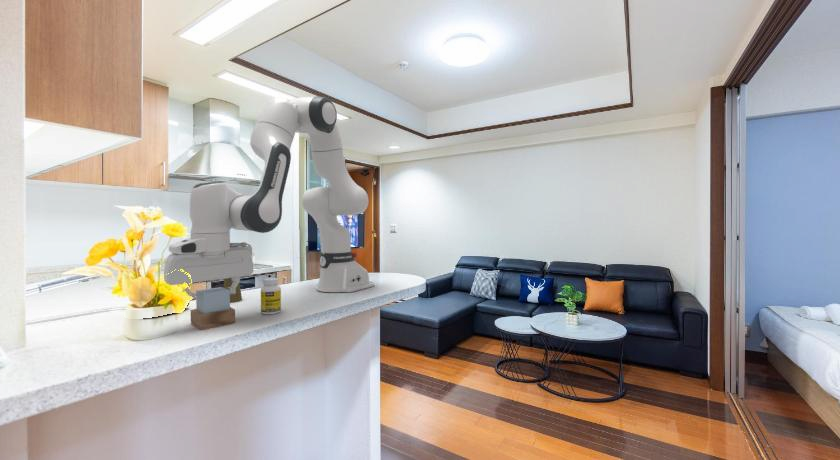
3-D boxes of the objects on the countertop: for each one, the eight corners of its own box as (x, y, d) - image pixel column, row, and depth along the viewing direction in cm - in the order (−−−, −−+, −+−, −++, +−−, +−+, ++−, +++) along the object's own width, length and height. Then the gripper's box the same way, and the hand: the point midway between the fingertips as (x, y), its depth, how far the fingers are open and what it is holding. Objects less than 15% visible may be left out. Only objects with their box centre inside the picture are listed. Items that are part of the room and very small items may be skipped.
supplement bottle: (264, 316, 100) (263, 281, 100) (258, 312, 104) (257, 278, 104) (283, 312, 104) (283, 279, 103) (277, 309, 108) (277, 276, 108)
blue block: (221, 305, 98) (220, 287, 98) (230, 308, 94) (229, 289, 94) (196, 309, 94) (195, 290, 93) (204, 313, 90) (204, 293, 89)
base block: (224, 318, 99) (223, 304, 99) (235, 324, 94) (234, 309, 94) (190, 325, 93) (190, 309, 93) (200, 331, 88) (200, 315, 88)
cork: (246, 298, 121) (245, 266, 121) (235, 303, 115) (234, 269, 115) (229, 298, 122) (228, 266, 122) (217, 302, 116) (216, 269, 116)
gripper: (247, 241, 103) (248, 289, 103) (161, 246, 88) (163, 302, 88) (256, 242, 98) (258, 292, 99) (167, 247, 83) (169, 306, 84)
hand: (212, 297), depth 93 cm, fingers open, 8 cm apart
